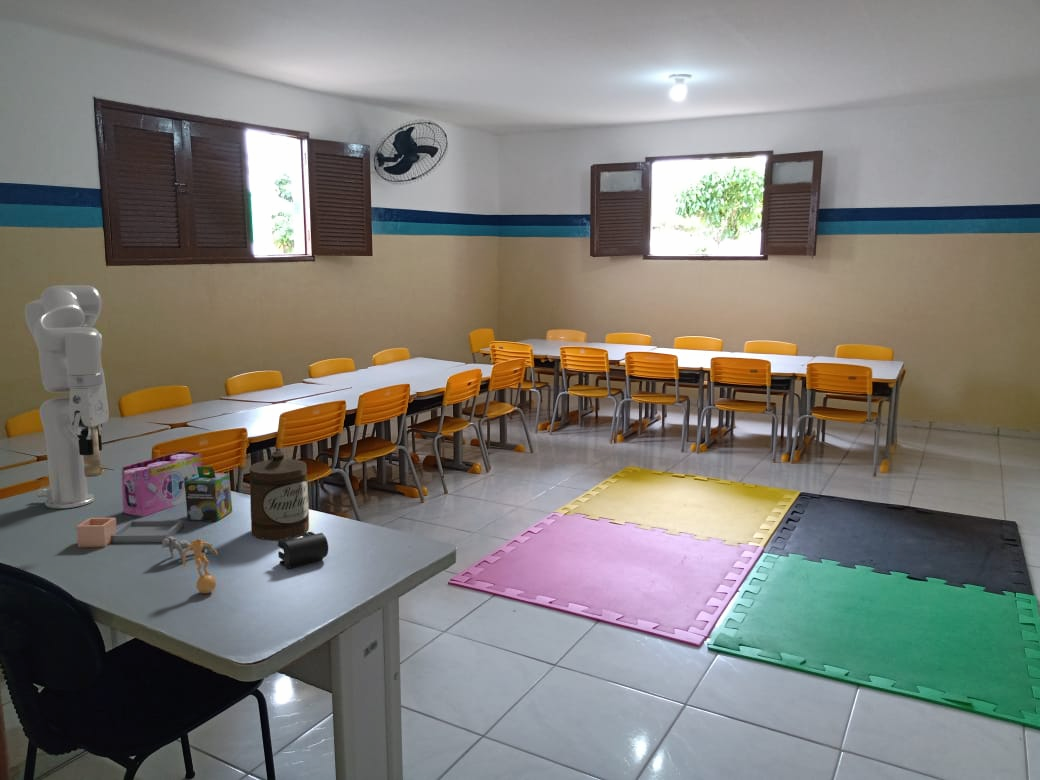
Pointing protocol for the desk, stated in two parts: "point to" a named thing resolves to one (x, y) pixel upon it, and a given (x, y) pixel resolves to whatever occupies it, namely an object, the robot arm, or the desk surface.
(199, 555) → the figurine
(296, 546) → the end cap
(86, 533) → the pink open box
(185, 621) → the desk surface
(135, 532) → the tray
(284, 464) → the wooden container
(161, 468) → the gum box
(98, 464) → the dowel
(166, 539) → the soldier figurine
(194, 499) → the chalk box
